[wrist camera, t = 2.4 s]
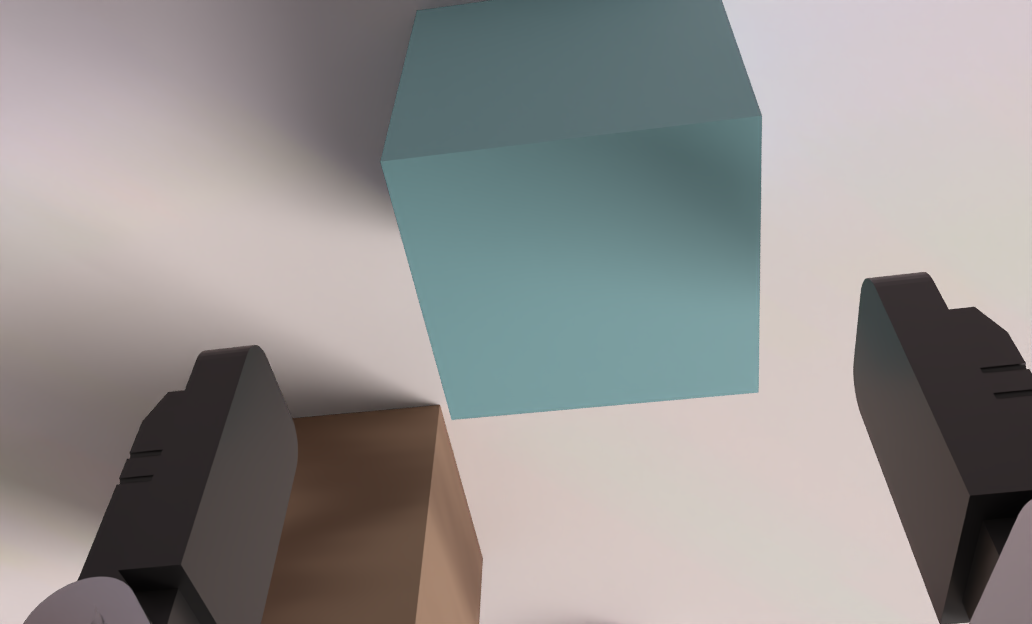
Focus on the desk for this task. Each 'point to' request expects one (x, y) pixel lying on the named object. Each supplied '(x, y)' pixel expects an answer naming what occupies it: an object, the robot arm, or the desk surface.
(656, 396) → the teal block
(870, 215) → the desk surface
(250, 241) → the desk surface
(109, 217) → the desk surface
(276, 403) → the robot arm
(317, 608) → the tower base block
